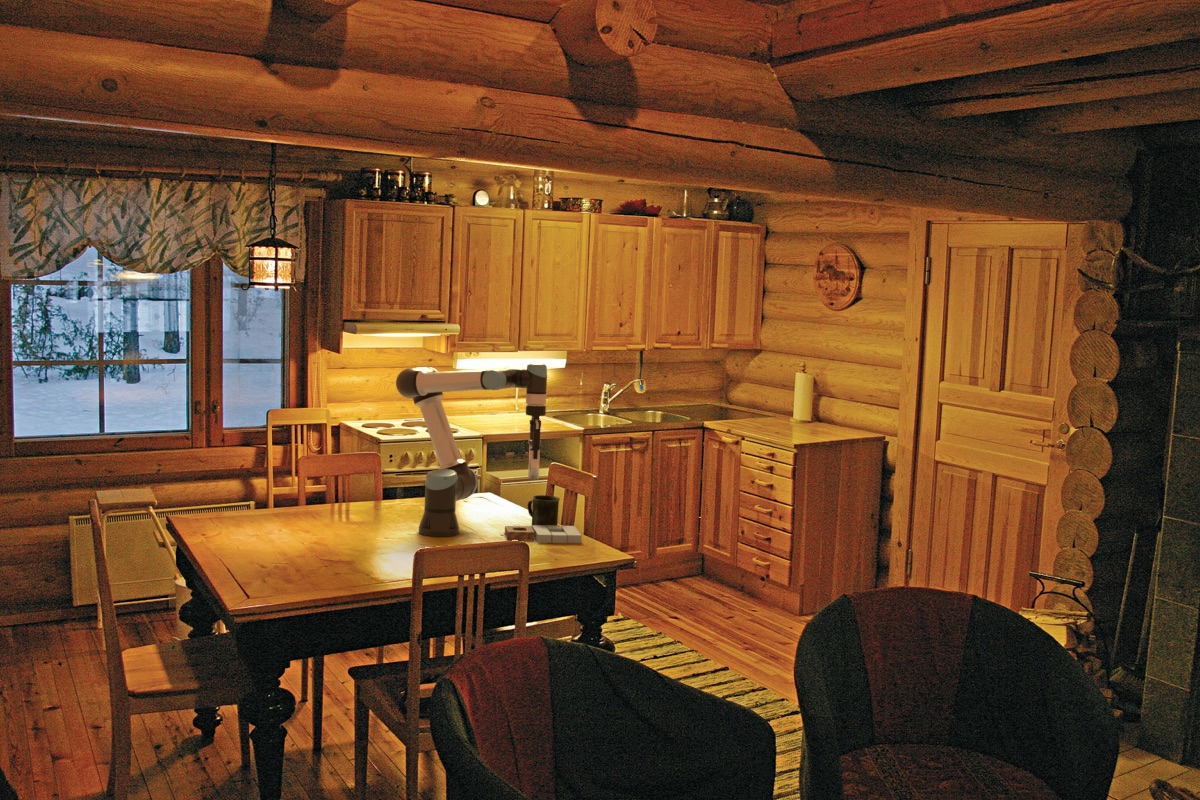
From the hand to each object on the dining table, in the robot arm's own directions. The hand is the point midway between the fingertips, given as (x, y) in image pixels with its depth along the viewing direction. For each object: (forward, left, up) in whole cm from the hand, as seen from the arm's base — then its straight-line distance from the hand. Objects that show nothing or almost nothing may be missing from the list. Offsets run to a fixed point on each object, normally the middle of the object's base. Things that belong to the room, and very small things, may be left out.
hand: (533, 466), depth 402 cm
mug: (+7, +19, -28) cm, 34 cm away
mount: (-4, +1, -27) cm, 28 cm away
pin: (0, 0, -5) cm, 5 cm away
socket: (+10, 0, -27) cm, 29 cm away
